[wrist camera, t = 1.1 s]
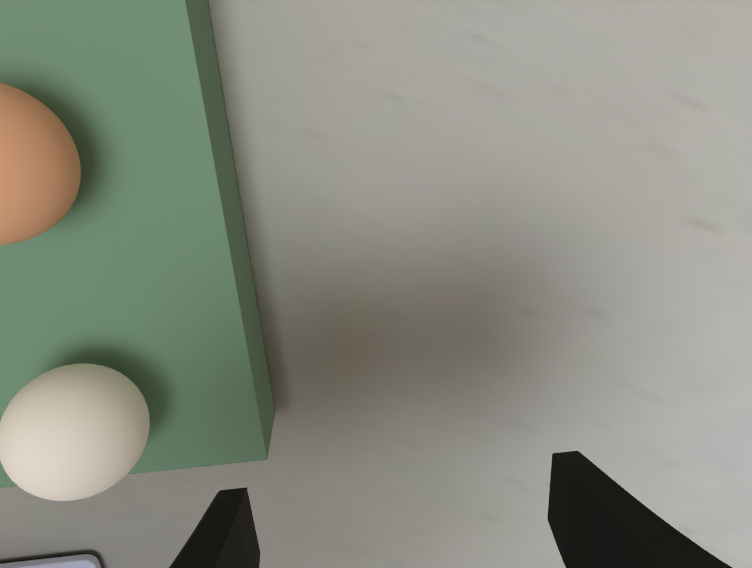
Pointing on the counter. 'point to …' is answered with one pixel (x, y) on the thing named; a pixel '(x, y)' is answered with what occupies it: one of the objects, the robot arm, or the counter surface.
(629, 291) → the counter surface
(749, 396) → the counter surface
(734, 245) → the counter surface
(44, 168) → the terracotta ball
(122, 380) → the ivory ball
